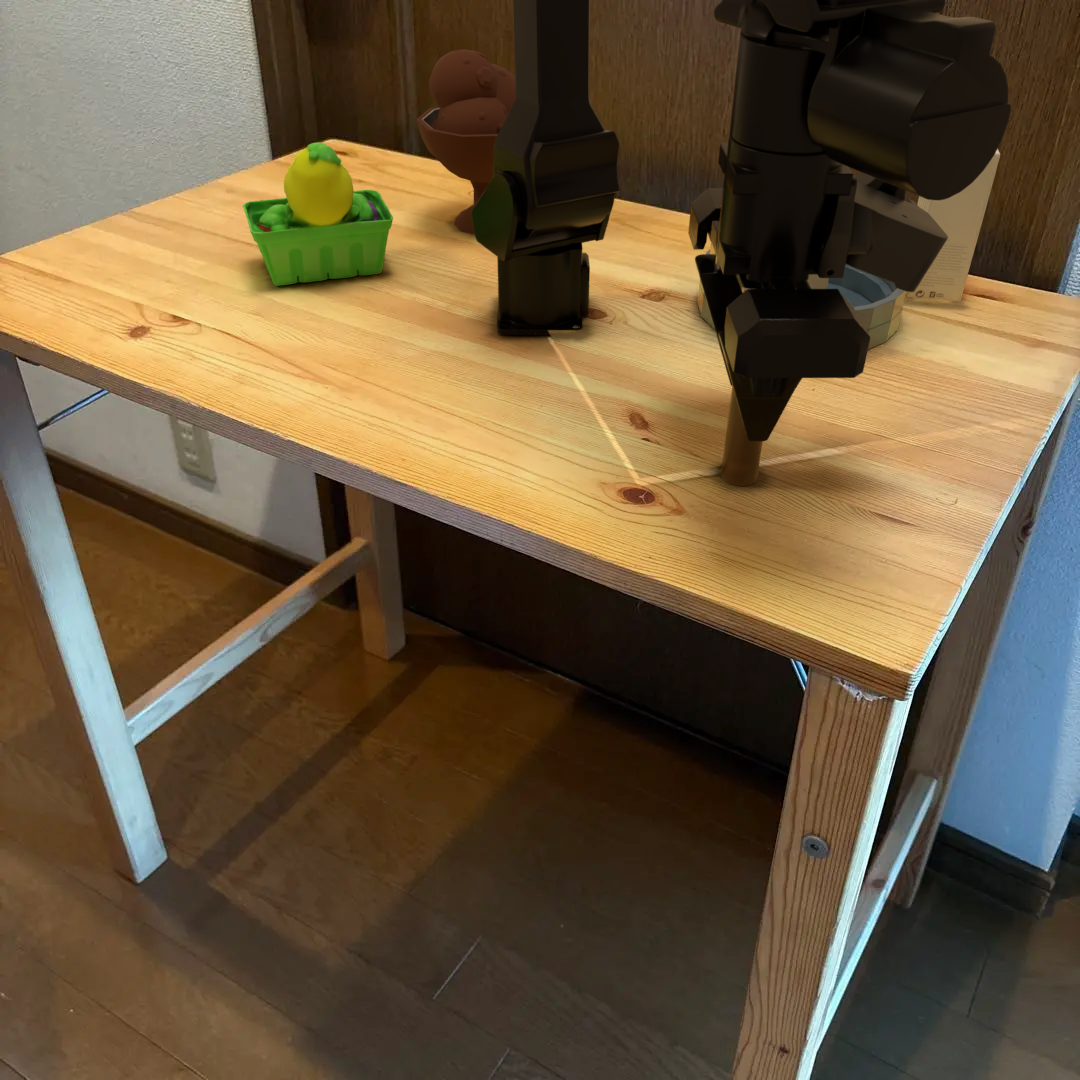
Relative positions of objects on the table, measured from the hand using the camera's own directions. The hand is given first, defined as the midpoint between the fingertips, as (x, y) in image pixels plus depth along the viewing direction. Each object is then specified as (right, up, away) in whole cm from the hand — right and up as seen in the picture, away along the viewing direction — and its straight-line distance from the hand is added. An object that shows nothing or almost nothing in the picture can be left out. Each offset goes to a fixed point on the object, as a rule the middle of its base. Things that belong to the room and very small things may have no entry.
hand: (747, 411), depth 61 cm
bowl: (+8, +10, +20) cm, 24 cm away
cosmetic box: (+20, +13, +24) cm, 34 cm away
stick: (0, -4, +3) cm, 4 cm away
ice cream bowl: (-17, +22, +36) cm, 46 cm away
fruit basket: (-30, +15, +27) cm, 43 cm away
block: (+8, +11, +21) cm, 25 cm away
